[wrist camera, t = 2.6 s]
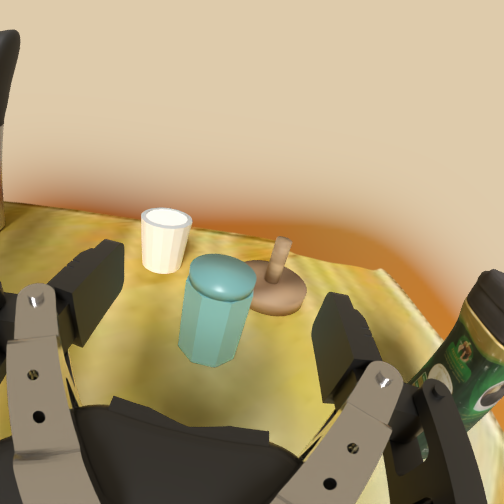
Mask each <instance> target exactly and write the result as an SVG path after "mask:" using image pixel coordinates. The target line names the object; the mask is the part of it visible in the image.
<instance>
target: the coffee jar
mask: <svg viewBox="0 0 504 504" xmlns="http://www.w3.org/2000/svg"><path fill="white" fill-rule="evenodd" d="M430 378H433V379H437V380H439V381H441V382H442V383H444V384H445V385H446V386H447V387H448V389H449V390H450V392H451V394H452V397H453V399H454V401H455V404H456V406H457V409H458V411H459V414H460V416H461V419H462V421H463V424H464V427H465V429H466V432H468V431H469V430H470V429H471V428H472V427H473V426H474V425H475V424H476V423H477V422H478V421H479V420H480V419H481V418H482V417H483V416H484V415H485V414H487V413H488V411H489V410H490V409H491V408H492V407H493V406H494V405H495V404H496V403H497V402H498V401H499V400H500V399H501V398H502V397H503V396H504V273H502V272H500V271H498V270H495V269H492V270H490V271H484V272H482V273H481V275H480V276H479V277H478V280H477V282H476V284H475V285H474V287H473V288H472V290H471V291H470V293H469V294H468V296H467V297H466V299H465V300H464V303H463V305H462V308H461V311H460V315H459V318H458V320H457V322H456V324H455V326H454V327H453V329H452V331H451V332H450V334H449V335H448V337H447V338H446V339H445V341H444V342H443V343H442V345H441V346H440V347H439V348H438V350H437V351H436V352H435V353H434V355H433V356H432V357H431V358H430V359H429V361H428V362H427V363H426V364H425V365H424V366H423V367H422V369H421V370H420V371H419V372H418V373H417V374H416V375H415V376H414V377H413V378H412V379H411V380H410V381H409V382H408V383H407V384H410V385H413V386H416V387H420V386H421V385H422V384H423V383H424V381H425V380H427V379H430ZM417 439H418V443H419V446H420V450H421V454H422V458H423V459H425V458H427V457H428V453H429V448H428V444H427V441H426V437H425V434H424V431H423V432H422V433H421V434H419V435H418V436H417Z"/></svg>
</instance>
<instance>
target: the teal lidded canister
mask: <svg viewBox="0 0 504 504" xmlns="http://www.w3.org/2000/svg"><path fill="white" fill-rule="evenodd" d="M256 279H257V278H256V274H255V272H254V270H253V269H252V268H251V267H250V266H249V265H247V264H246V263H244V262H243V261H241V260H239V259H236V258H234V257H231V256H227V255H221V254H206V255H202V256H199V257H197V258H195V259H194V260H193V261H192V263H191V265H190V271H189V276H188V278H187V280H186V286H185V294H184V301H183V309H182V317H181V325H180V333H179V342H178V346H179V348H180V349H181V350H182V351H183V353H184V354H185V355H186V356H187V358H188V359H189V360H190V361H191V362H193V363H197V364H202V365H206V366H210V367H217V366H219V365H221V364H223V363H226V362H228V361H230V360H232V359H233V358H234V355H235V352H236V349H237V346H238V343H239V340H240V337H241V333H242V330H243V327H244V324H245V321H246V318H247V314H248V311H249V308H250V305H251V302H252V298H253V290H254V286H255V283H256Z"/></svg>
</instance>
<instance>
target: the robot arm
mask: <svg viewBox="0 0 504 504" xmlns="http://www.w3.org/2000/svg"><path fill="white" fill-rule="evenodd" d="M19 49H20V35H19V33H18V32H17V31H16V30H5V31H0V230H1V229H2V228H3V227H4V225H5V215H4V204H3V189H2V141H3V126H4V125H3V124H4V117H5V112H6V108H7V103H8V98H9V92H10V87H11V82H12V78H13V74H14V70H15V66H16V63H17V59H18V54H19ZM123 283H124V245H123V243H119V242H115V241H112V240H108V239H104V240H103V241H102V242H101V243H100V244H99V245H97V246H96V247H95V248H94V249H93V248H90V249H88V250H86V251H83V252H81V253H80V254H78V255H77V256H76V257H75V258H74V259H73V261H71V262H70V263H68V264H67V267H66V266H65V267H64V268H63V269H62V270H61V271H60V272H59V273H58V274H57V275H56V276H55V277H53V278H52V279H51V280H50V281H49V282H48V283H47V284H43V283H36V284H31V285H28V286H26V287H25V288H23V289H22V290H21V291H20V292H19V294H14V293H6V292H3V288H2V284H1V282H0V383H1V382H2V380H3V378H4V377H5V375H6V374H7V395H8V407H9V416H10V424H11V431H12V436H10V437H7V438H5V439H2V440H0V504H355V503H356V501H357V500H358V498H359V496H360V495H361V493H362V491H363V490H364V488H365V486H366V484H367V482H368V481H369V479H370V477H371V475H372V473H373V471H374V469H375V467H376V465H377V463H378V461H379V459H380V457H381V455H382V453H383V456H384V462H385V468H386V475H387V481H388V489H389V496H390V504H487V500H486V495H485V491H484V487H483V483H482V479H481V476H480V472H479V469H478V465H477V462H476V459H475V456H474V452H473V449H472V446H471V443H470V441H469V438H468V435H467V432H466V429H465V427H464V424H463V421H462V419H461V416H460V414H459V411H458V409H457V406H456V404H455V401H454V399H453V397H452V394H451V392H450V390H449V389H448V387H447V386H446V385H445V384H444V383H442V382H441V381H439V380H437V379H433V378H430V379H427V380H425V381H424V383H423V384H422V385H421V386H420V387H416V386H413V385H410V384H407V383H404V382H403V378H402V376H401V374H400V373H399V371H398V370H397V369H396V368H395V367H393V366H392V365H390V364H389V363H386V362H383V361H382V358H381V356H380V353H379V351H378V348H377V346H376V344H375V341H374V339H373V337H372V334H371V332H370V330H369V327H368V325H367V322H366V320H365V318H364V317H363V316H362V315H361V314H360V313H359V311H358V310H356V309H354V308H353V306H352V303H351V301H350V298H349V296H348V295H344V294H339V293H334V292H329V293H328V294H327V295H326V297H325V299H324V301H323V304H322V306H321V308H320V310H319V312H318V315H317V317H316V319H315V321H314V324H313V327H312V342H313V348H314V353H315V359H316V364H317V370H318V376H319V382H320V388H321V394H322V401H323V403H331V404H335V409H334V411H333V412H332V413H331V414H330V416H329V417H328V419H327V420H326V421H325V423H324V424H323V425H322V427H321V428H320V429H319V431H318V432H317V433H316V434H315V436H314V437H313V438H312V440H311V441H310V442H309V443H308V445H307V446H306V447H305V448H304V449H303V450H302V451H301V453H300V454H299V455H298V456H296V455H294V454H293V453H291V452H290V451H288V450H286V449H285V448H283V447H281V446H279V445H276V444H274V443H271V442H269V431H261V430H253V429H246V428H239V427H232V426H223V427H188V426H185V425H183V424H181V423H178V422H176V421H174V420H172V419H170V418H168V417H166V416H165V415H163V414H161V413H159V412H157V411H155V410H153V409H151V408H149V407H146V406H143V405H140V404H136V403H133V402H130V401H127V400H124V399H122V398H119V397H116V396H113V399H112V401H111V403H110V405H87V406H82V404H81V401H80V398H79V394H78V391H77V387H76V382H75V378H74V373H73V369H72V364H71V359H70V354H69V350H68V349H69V347H70V346H71V344H75V345H77V346H79V347H82V348H83V347H84V345H85V343H86V342H87V340H88V339H89V337H90V336H91V334H92V333H93V331H94V330H95V328H96V327H97V325H98V324H99V322H100V321H101V319H102V318H103V316H104V315H105V313H106V312H107V310H108V309H109V308H110V306H111V305H112V303H113V302H114V300H115V299H116V298H117V296H118V295H119V293H120V292H121V290H122V287H123ZM423 431H424V434H425V437H426V441H427V444H428V448H429V453H428V457H427V459H426V460H425V461H424V462H423V458H422V454H421V450H420V446H419V443H418V439H417V436H418V435H419V434H421V433H422V432H423Z"/></svg>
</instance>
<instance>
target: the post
mask: <svg viewBox="0 0 504 504" xmlns="http://www.w3.org/2000/svg"><path fill="white" fill-rule="evenodd" d="M291 245H292V241H291V240H290V239H288V238H286V237H281V236H279V237H277V239H276V242H275V245H274V249H273V252H272V255H271V258H270V261H269V262H268V261H261V260H252V261H246V262H244V263H246V264H247V265H249V266H250V267H251V268H252V269H253V270H254V272H255V274H256V278H257V279H256V283H255V286H254V290H253V298H252V302H251V305H250V309H252V310H254V311H257V312H259V313H262V314H266V315H271V316H286V315H290V314H293V313H295V312H296V311H298V310H299V309H300V307H301V305H302V303H303V300H304V298H305V296H306V293H307V288H306V285H305V283H304V281H303V280H302V279H301V278H300V277H299V276H298V275H297V274H296V273H294V272H293V271H291V270H290V269H288V268H286V267H284V265H285V262H286V259H287V257H288V254H289V251H290V248H291Z"/></svg>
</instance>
